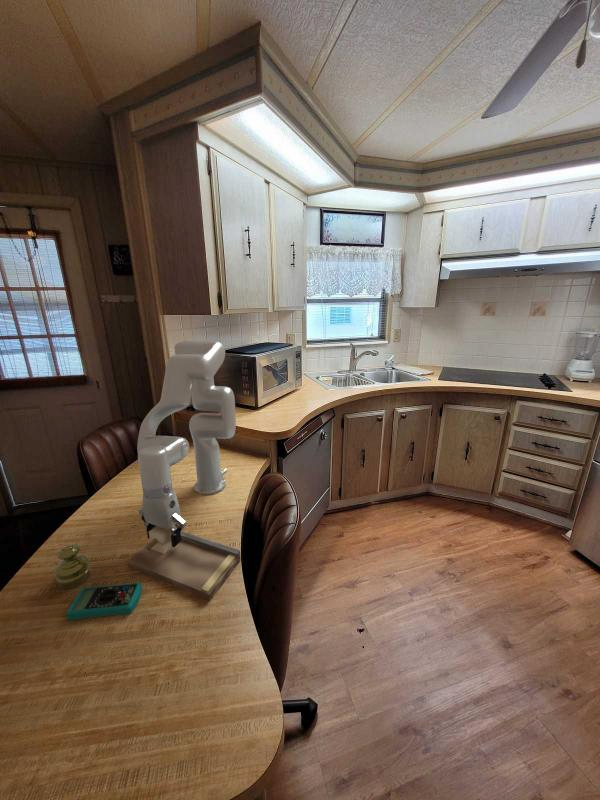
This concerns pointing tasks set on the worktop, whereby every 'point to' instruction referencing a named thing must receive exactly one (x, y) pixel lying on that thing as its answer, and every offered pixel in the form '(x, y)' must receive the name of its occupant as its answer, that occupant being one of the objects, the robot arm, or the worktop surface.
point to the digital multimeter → (105, 601)
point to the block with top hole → (160, 539)
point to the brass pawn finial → (72, 567)
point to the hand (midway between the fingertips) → (164, 539)
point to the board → (189, 565)
